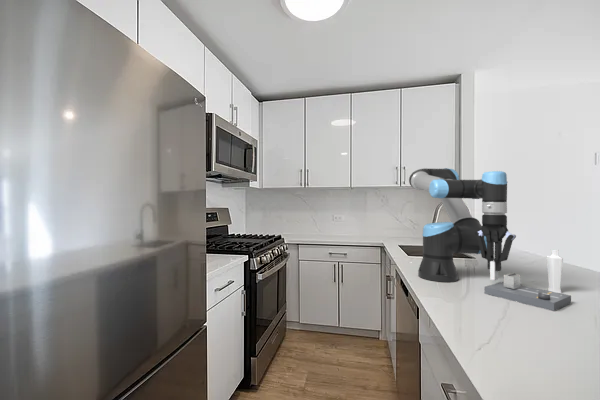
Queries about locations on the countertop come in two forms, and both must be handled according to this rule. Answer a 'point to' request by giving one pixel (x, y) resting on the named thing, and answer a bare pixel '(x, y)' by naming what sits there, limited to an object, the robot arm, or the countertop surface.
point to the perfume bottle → (554, 271)
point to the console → (529, 296)
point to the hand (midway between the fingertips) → (494, 279)
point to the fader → (512, 280)
